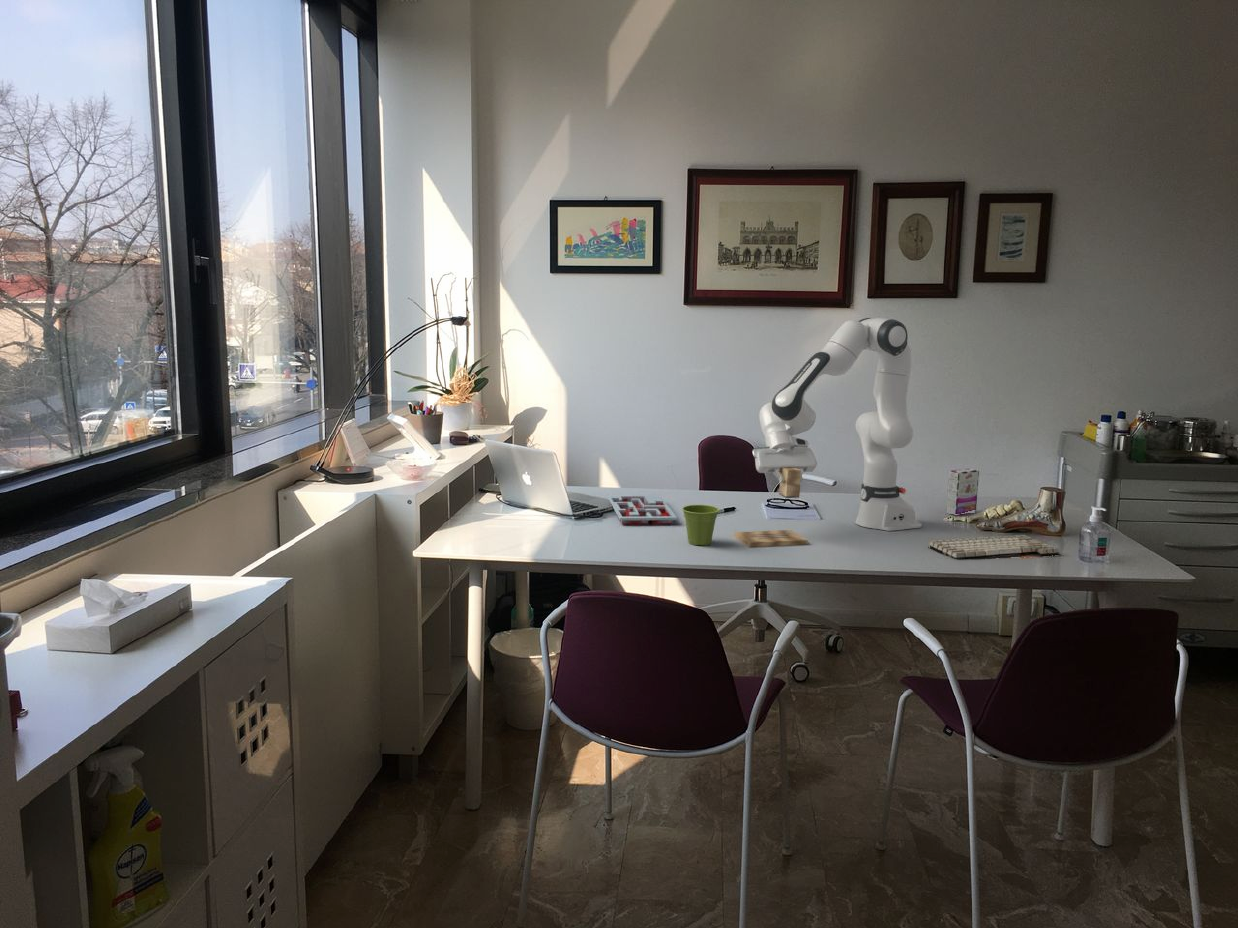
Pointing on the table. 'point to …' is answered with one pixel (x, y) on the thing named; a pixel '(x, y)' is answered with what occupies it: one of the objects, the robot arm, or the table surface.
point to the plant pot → (700, 523)
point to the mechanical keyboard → (993, 547)
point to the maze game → (642, 509)
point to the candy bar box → (962, 490)
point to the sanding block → (790, 483)
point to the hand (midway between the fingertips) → (791, 481)
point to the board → (770, 538)
